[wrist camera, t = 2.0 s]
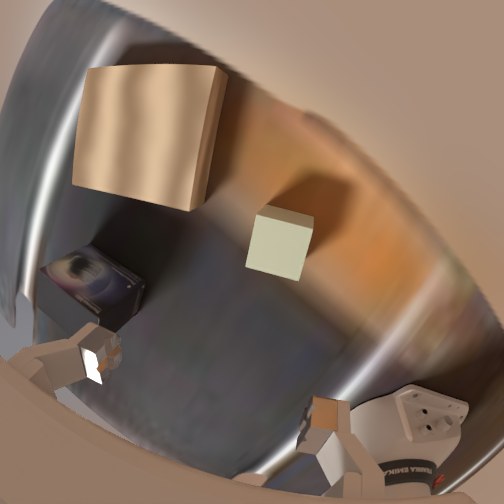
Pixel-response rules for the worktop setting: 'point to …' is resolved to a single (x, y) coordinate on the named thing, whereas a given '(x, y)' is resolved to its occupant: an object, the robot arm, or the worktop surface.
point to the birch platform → (149, 131)
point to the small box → (88, 291)
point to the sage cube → (280, 241)
